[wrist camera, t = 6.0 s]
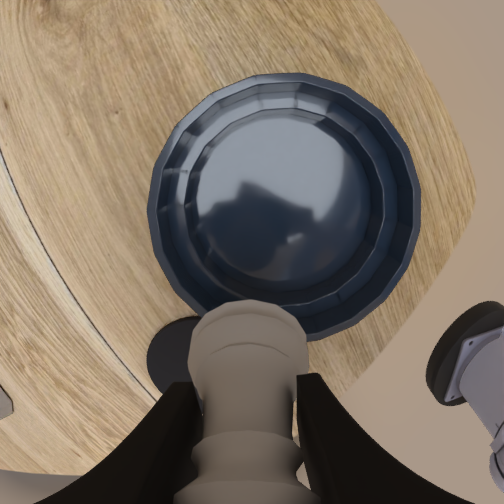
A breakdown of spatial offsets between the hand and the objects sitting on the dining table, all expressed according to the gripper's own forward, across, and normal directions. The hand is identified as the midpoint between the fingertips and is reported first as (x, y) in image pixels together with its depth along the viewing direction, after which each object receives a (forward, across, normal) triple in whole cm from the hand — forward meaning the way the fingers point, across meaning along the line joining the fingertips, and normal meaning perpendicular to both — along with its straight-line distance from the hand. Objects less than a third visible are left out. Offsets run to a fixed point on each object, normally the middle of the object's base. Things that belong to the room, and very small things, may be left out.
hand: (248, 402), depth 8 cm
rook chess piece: (+3, 0, 0) cm, 3 cm away
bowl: (+10, -2, -4) cm, 11 cm away
